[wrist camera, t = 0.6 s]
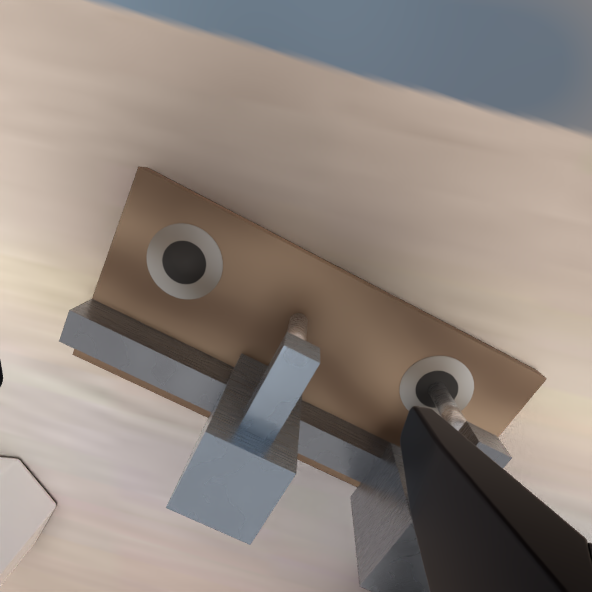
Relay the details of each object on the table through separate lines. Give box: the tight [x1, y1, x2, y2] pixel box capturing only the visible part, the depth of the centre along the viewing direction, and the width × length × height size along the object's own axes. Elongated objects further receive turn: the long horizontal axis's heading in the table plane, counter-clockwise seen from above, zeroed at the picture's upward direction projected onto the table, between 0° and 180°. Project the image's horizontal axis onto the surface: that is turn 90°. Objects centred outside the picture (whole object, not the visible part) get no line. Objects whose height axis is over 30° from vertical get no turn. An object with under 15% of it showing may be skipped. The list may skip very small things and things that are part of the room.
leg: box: [166, 313, 320, 545], centre depth 18 cm, size 9×4×7 cm, turn 153°
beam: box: [59, 299, 512, 592], centre depth 18 cm, size 9×22×7 cm, turn 63°
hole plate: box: [73, 167, 546, 487], centre depth 22 cm, size 12×25×1 cm, turn 63°
